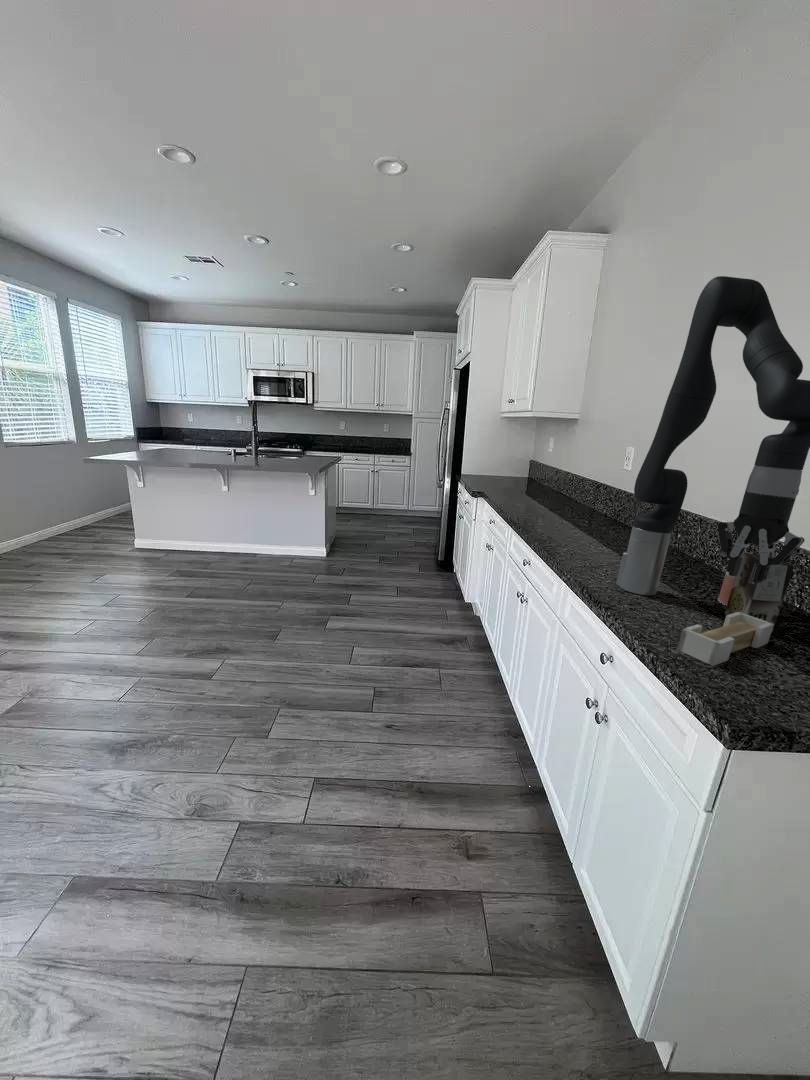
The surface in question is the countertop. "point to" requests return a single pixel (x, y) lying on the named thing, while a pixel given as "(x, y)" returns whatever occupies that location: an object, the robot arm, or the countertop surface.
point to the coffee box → (759, 590)
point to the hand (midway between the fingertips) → (744, 578)
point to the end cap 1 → (704, 646)
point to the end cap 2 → (762, 626)
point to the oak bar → (734, 634)
